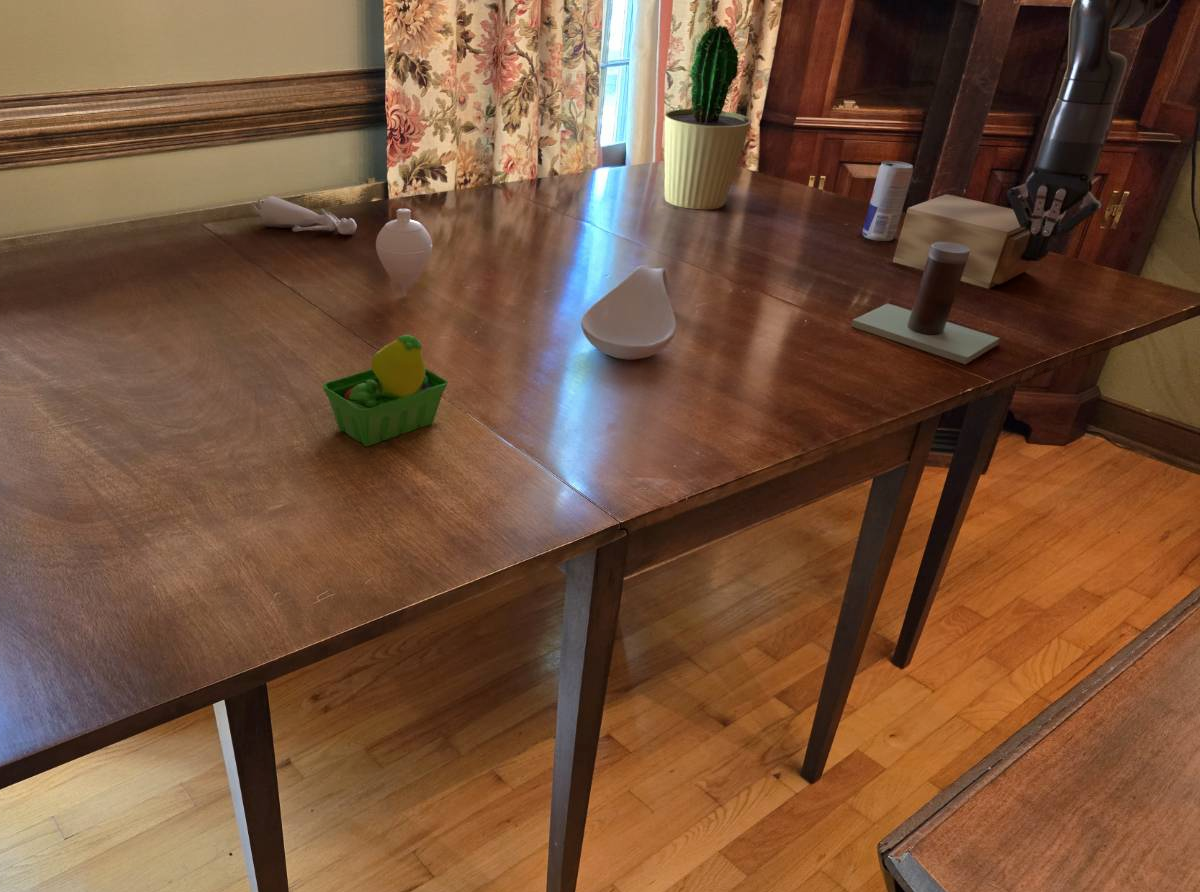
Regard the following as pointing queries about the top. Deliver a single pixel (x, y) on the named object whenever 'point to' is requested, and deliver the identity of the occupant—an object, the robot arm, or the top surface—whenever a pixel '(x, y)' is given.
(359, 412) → the fruit basket
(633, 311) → the spoon rest
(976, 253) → the cabinet
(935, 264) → the glass of dark soda
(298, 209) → the woman figurine
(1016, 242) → the drawer
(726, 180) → the potted cactus
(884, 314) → the mat
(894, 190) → the energy drink
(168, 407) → the top surface
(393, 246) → the spinning top
